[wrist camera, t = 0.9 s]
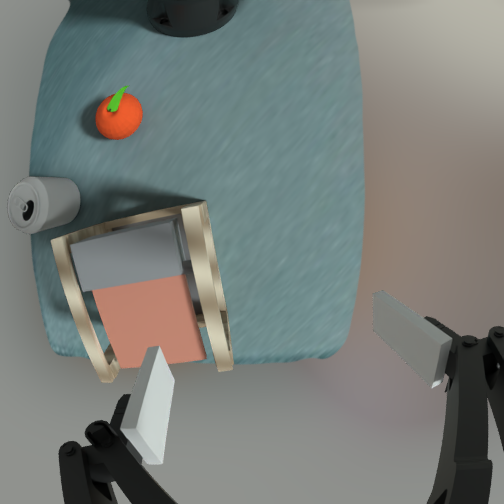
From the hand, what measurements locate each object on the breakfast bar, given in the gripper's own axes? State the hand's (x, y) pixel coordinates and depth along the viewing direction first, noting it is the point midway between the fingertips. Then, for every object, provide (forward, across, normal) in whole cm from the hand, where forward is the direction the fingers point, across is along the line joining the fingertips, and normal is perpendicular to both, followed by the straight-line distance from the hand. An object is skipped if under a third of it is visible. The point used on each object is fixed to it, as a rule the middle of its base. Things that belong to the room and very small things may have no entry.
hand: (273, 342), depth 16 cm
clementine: (+28, -12, +23) cm, 38 cm away
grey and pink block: (+16, -12, -1) cm, 20 cm away
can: (+27, -26, +14) cm, 40 cm away
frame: (+27, -12, -1) cm, 30 cm away
